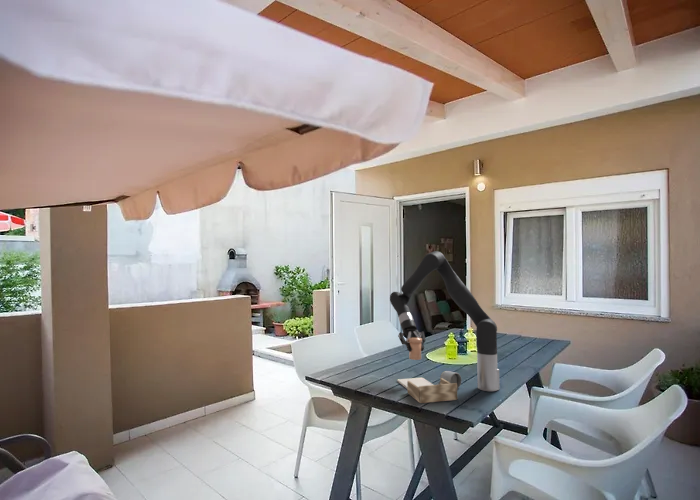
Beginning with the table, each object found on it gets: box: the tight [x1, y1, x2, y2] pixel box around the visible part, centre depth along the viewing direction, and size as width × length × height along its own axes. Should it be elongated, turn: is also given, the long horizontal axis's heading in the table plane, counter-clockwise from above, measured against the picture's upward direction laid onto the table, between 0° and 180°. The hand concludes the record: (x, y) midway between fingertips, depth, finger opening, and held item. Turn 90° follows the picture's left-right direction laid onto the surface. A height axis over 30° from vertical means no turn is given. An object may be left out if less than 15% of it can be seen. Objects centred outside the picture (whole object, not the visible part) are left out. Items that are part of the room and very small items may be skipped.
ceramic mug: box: [437, 370, 462, 390], centre depth 192 cm, size 11×8×8 cm
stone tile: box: [397, 377, 434, 390], centre depth 197 cm, size 14×14×1 cm
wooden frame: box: [406, 378, 458, 404], centre depth 180 cm, size 18×14×7 cm
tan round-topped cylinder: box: [408, 337, 422, 361], centre depth 197 cm, size 7×7×10 cm
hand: (416, 350), depth 196 cm, fingers closed on tan round-topped cylinder, 6 cm apart
